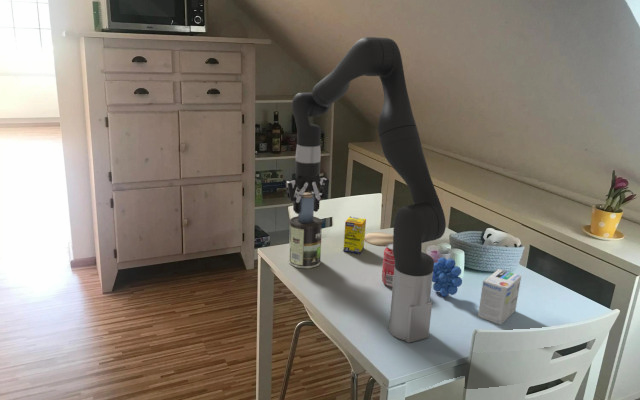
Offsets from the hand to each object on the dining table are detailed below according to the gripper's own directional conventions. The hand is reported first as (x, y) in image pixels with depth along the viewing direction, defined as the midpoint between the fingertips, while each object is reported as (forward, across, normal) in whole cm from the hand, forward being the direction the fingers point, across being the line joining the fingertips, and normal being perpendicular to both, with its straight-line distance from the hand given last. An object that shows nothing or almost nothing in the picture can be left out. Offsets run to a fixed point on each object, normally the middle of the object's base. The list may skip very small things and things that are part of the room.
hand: (306, 211), depth 166 cm
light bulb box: (+17, +34, -50) cm, 63 cm away
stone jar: (+3, 0, 0) cm, 3 cm away
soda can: (+17, +18, -24) cm, 35 cm away
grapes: (+17, +28, -36) cm, 49 cm away
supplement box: (+17, +20, +3) cm, 27 cm away
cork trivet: (+17, +34, +8) cm, 39 cm away
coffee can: (+17, 0, 0) cm, 17 cm away
